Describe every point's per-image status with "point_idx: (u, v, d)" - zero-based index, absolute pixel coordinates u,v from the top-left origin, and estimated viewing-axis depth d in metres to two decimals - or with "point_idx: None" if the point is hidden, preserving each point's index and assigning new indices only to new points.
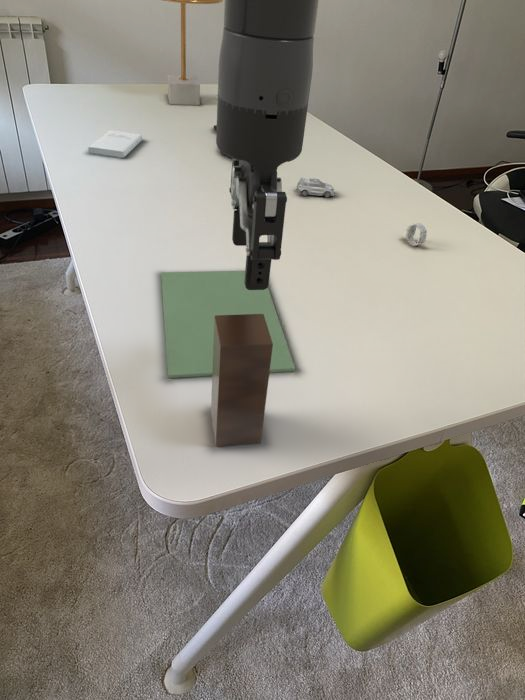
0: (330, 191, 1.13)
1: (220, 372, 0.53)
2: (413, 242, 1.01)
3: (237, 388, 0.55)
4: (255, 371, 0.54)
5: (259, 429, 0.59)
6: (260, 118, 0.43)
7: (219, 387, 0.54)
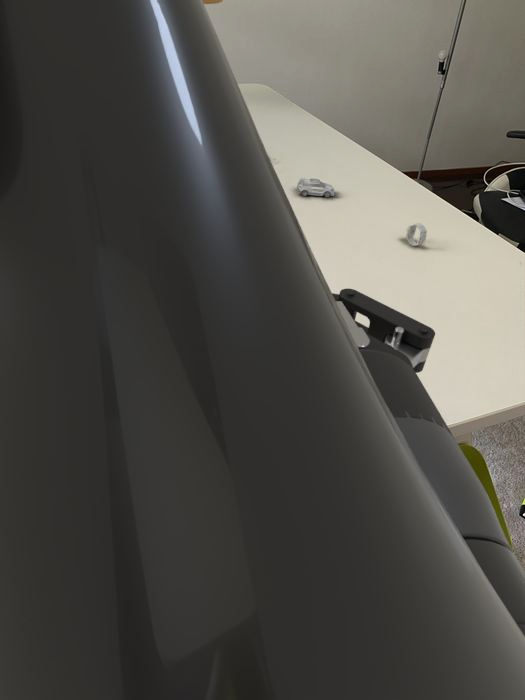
0: (330, 191, 1.13)
1: None
2: (413, 242, 1.01)
3: None
4: None
5: None
6: None
7: None
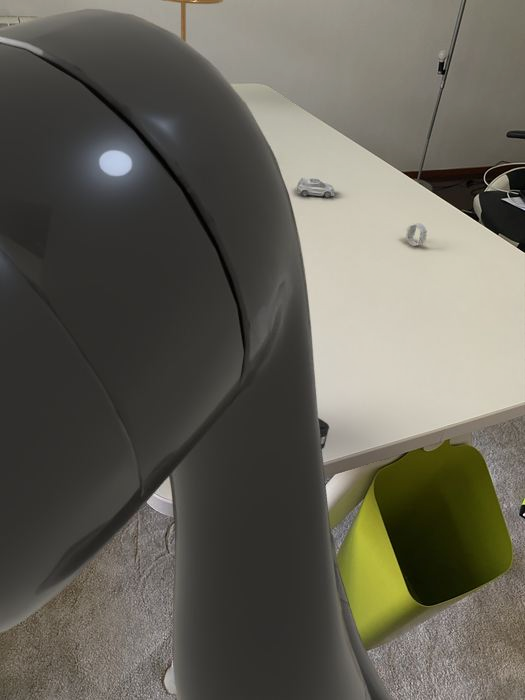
0: (330, 191, 1.13)
1: None
2: (413, 242, 1.01)
3: None
4: None
5: None
6: None
7: None
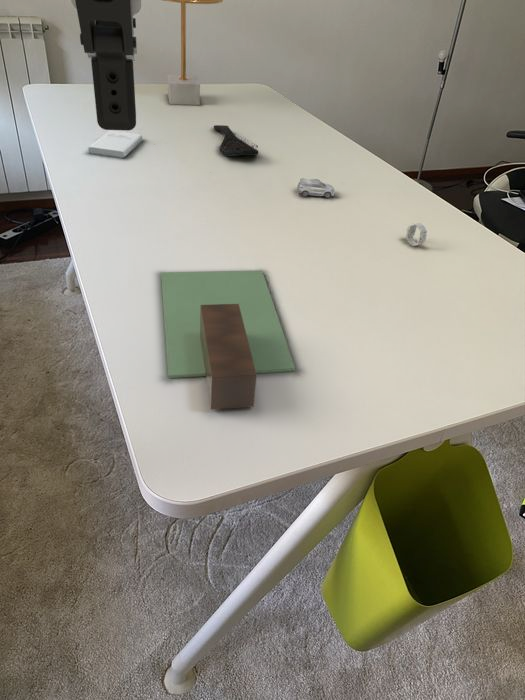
0: (331, 191, 1.13)
1: (203, 319, 0.68)
2: (413, 242, 1.01)
3: (220, 329, 0.67)
4: (231, 318, 0.69)
5: (250, 361, 0.63)
6: None
7: (205, 328, 0.67)
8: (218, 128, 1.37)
